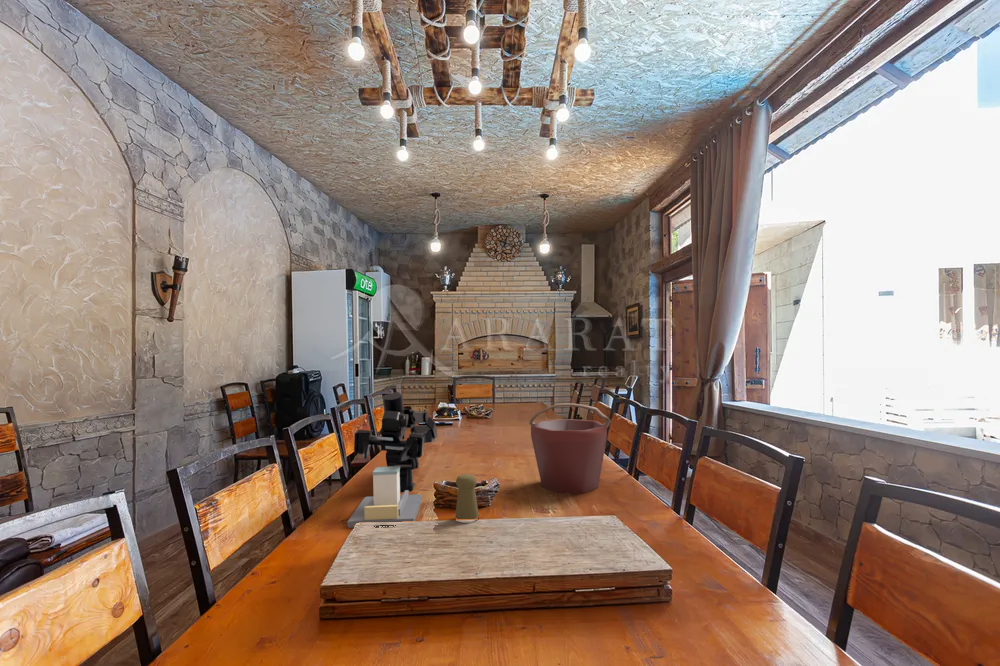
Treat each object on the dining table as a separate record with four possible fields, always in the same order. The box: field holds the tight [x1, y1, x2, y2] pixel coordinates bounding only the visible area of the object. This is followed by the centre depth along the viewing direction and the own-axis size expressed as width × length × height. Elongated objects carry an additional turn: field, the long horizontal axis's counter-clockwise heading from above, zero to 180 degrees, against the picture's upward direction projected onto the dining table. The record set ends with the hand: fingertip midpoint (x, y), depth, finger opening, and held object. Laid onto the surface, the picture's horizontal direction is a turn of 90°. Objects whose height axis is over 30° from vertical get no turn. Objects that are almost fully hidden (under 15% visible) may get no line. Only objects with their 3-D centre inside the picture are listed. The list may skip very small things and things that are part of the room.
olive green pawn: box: [454, 473, 480, 519], centre depth 122 cm, size 6×6×11 cm
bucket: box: [529, 403, 612, 494], centre depth 148 cm, size 24×22×25 cm
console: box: [347, 490, 423, 529], centre depth 128 cm, size 20×16×4 cm
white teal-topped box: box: [372, 466, 401, 506], centre depth 127 cm, size 5×6×10 cm
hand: (382, 458), depth 126 cm, fingers open, 9 cm apart
